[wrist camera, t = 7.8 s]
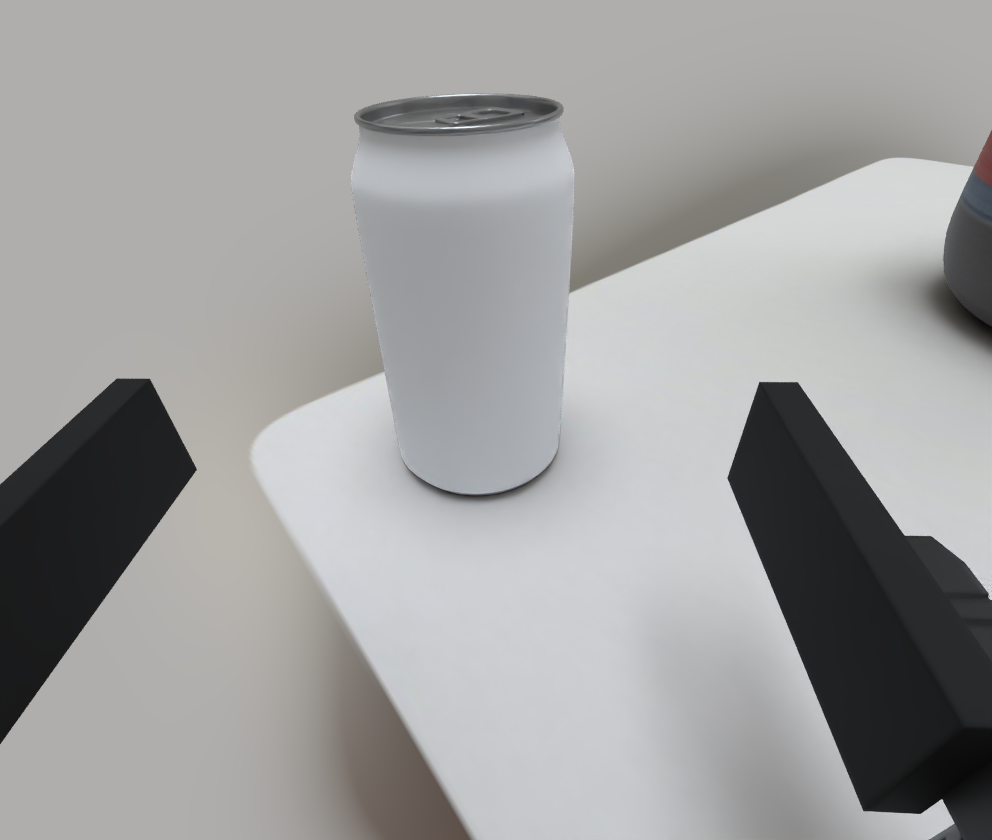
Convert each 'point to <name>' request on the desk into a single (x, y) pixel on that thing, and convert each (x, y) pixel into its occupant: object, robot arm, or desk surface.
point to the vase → (972, 241)
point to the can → (469, 279)
